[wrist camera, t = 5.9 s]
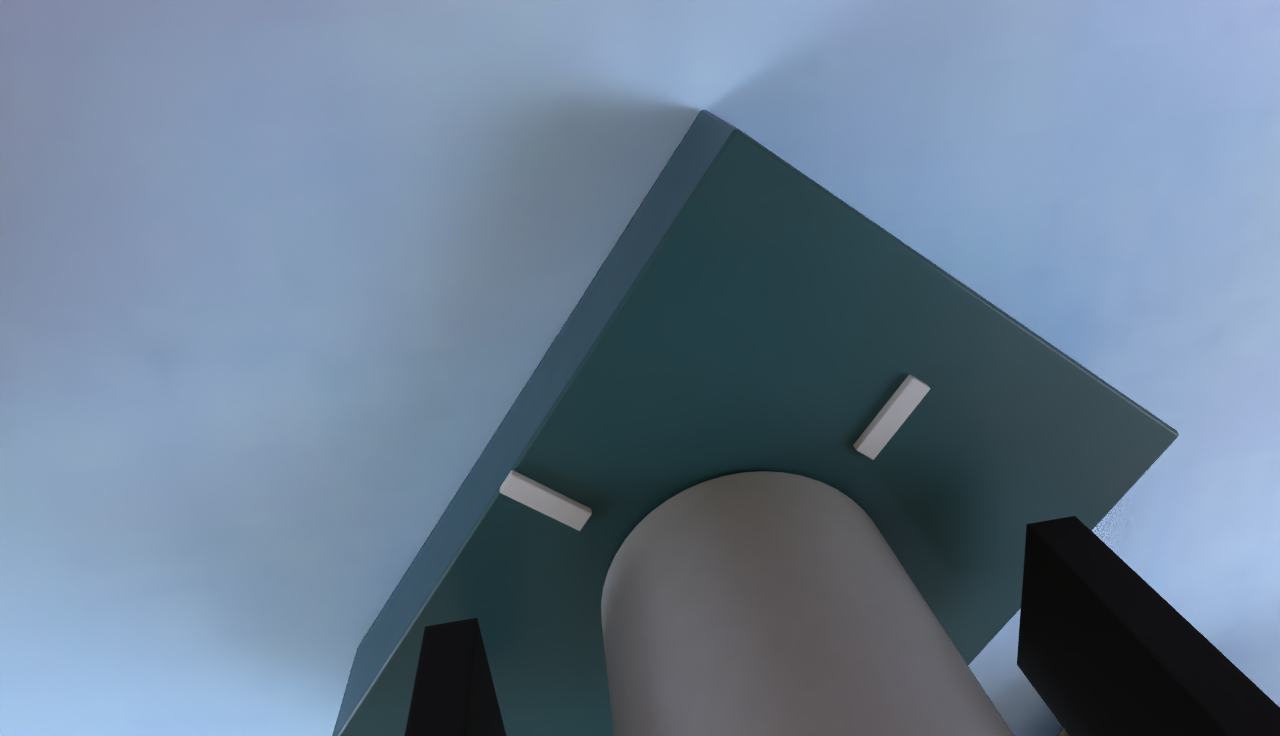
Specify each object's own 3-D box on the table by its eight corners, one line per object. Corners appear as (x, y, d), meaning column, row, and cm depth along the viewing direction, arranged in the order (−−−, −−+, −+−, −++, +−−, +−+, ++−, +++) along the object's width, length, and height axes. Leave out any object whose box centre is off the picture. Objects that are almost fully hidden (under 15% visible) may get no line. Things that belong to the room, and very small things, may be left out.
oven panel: (702, 107, 13) (738, 128, 11) (1089, 374, 16) (1188, 438, 14) (356, 648, 17) (324, 757, 14) (727, 796, 19) (754, 909, 17)
